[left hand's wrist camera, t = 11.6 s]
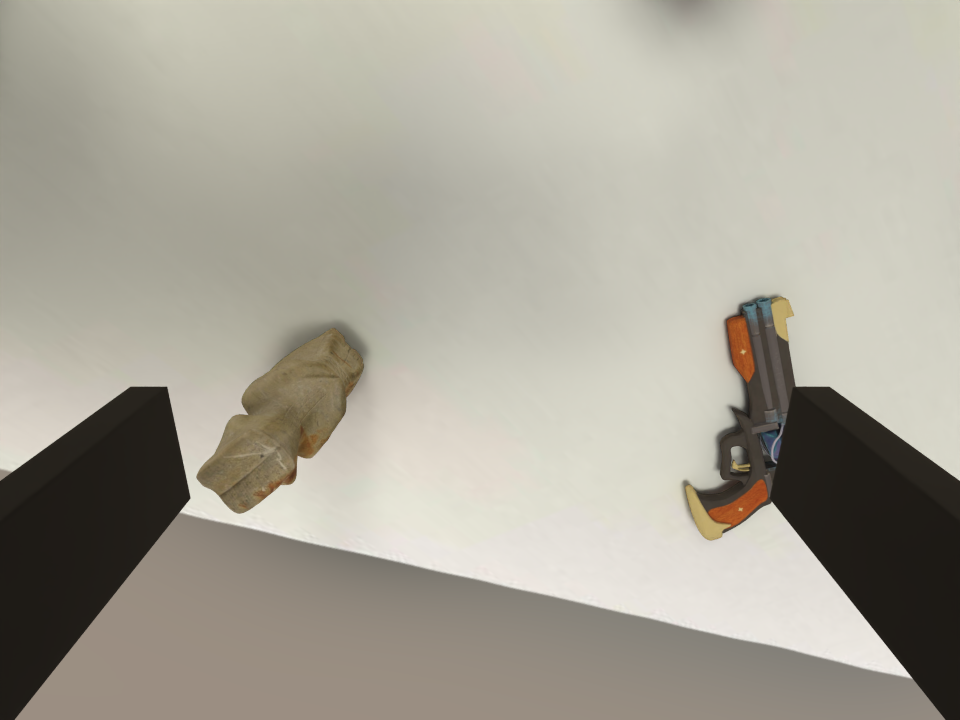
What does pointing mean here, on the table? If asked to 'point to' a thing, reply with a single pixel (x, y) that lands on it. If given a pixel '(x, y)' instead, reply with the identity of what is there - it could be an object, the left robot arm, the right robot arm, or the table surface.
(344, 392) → the sculpture
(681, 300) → the table surface
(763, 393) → the toy gun
